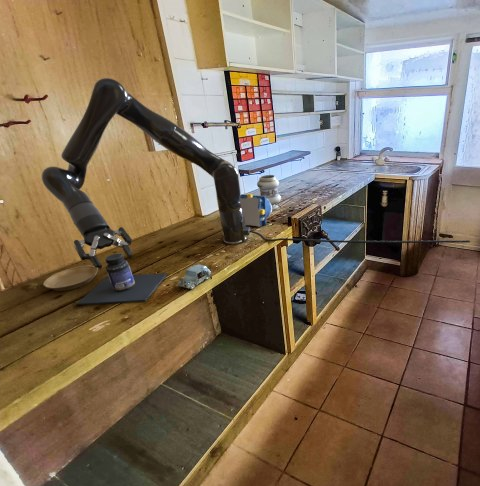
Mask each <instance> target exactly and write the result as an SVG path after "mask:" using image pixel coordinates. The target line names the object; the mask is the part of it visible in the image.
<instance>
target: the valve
mask: <svg viewBox="0 0 480 486" xmlns="http://www.w3.org/2000/svg"><path fill="white" fill-rule="evenodd" d="M240 198H241V206H242V213H243V217H244V218H245V225H246V226H250V227H251V226H253V227H258V228H261V227H263V226H267V218H269V217H270V216H271V215H272V212H273V211H272V205H271V204H270V202H269V201H268V199H267V198H266V197H265V196H261V195H255V194H254V195H253V193H246V194H240Z"/></svg>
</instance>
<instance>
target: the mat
mask: <svg viewBox="0 0 480 486" xmlns="http://www.w3.org/2000/svg"><path fill="white" fill-rule="evenodd" d="M132 275H133V278H134V281H135V285H134V286H133V287H132V288H131V289H129V290H126V291H120V292H119V291H115V290H114V289H113V287H112V284H111V281H110V279H109V276H107V277H105V278H104V279H103V280H102V281H101V282H100V283H98V284H97V285H96V286H95V287H94V288H93V289H92V290H91V291H89V292H88V293H87V294H86V295H85V296H83V297H82V298H81V299H80V300H79V301H77V303H76V305H77V306H89V305H105V304H107V305H108V304H123V303H140V302H141V303H142V302H146V301H148V299H149V298H150V297H151V296H152V295H153V293H154V292H155V290H156V289H157V288H158V287H159V286H160V284H161V283H162V282H163V281H164V280H165V278H166V277H167V276H168V274H167V273H154V274H153V273H149V274H132Z"/></svg>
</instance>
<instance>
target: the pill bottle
mask: <svg viewBox="0 0 480 486" xmlns="http://www.w3.org/2000/svg"><path fill="white" fill-rule="evenodd" d="M104 260H105V262H106V264H107V265H106V266H105V270H106V273H107V277H109V279H110V281H111V284H112V287H113V289H114V290H115V291H119V292H120V291H126V290H129V289H131V288H132V287H133V286H134V285H135V281H134V278H133V275H134V274H133V272H132V270H131V266H130V264H129V262H128V261H127V260H125V256H124V254H123V253H114V254H110V255H108V256H106V257H105V259H104Z"/></svg>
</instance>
